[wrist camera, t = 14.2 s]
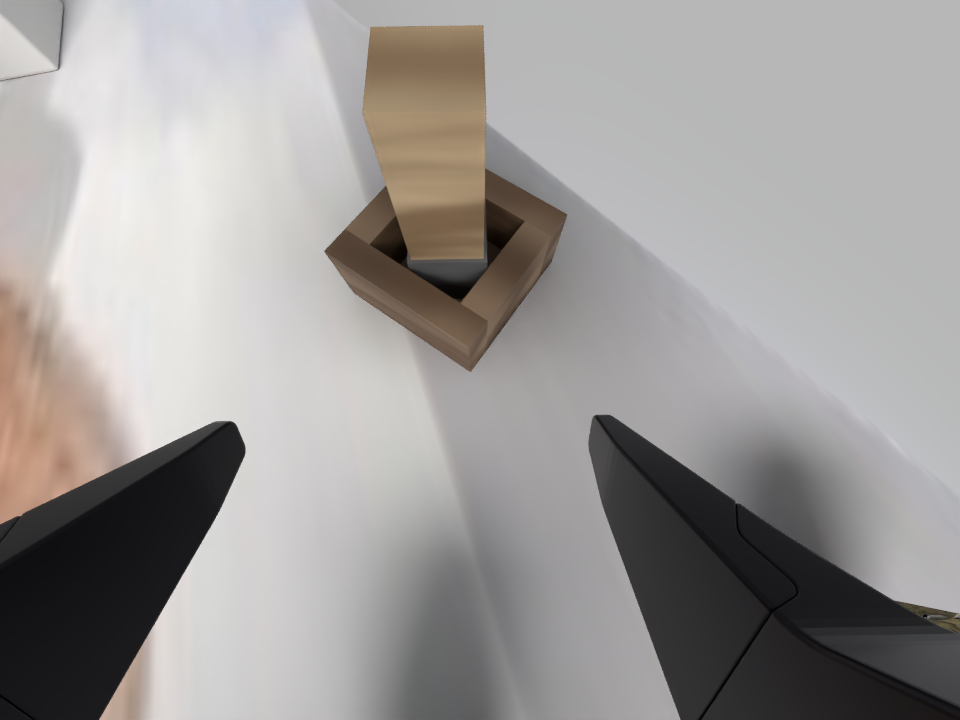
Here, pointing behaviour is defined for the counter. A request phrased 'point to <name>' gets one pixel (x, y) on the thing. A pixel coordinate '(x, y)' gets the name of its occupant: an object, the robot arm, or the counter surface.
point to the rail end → (432, 145)
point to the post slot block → (427, 310)
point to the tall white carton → (29, 37)
